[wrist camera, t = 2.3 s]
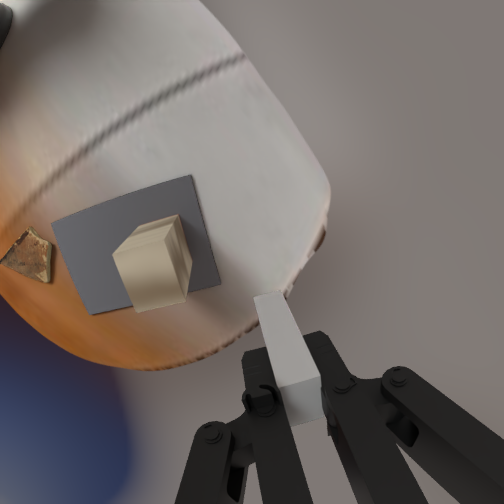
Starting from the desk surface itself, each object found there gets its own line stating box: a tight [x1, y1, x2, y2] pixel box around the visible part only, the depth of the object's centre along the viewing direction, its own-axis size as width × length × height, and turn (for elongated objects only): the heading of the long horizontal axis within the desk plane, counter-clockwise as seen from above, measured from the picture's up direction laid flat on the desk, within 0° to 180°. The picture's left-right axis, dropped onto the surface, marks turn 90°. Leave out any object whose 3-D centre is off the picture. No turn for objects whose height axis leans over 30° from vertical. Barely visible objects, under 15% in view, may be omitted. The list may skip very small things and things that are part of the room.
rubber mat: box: [51, 175, 221, 315], centre depth 32 cm, size 14×20×1 cm
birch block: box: [112, 214, 193, 313], centre depth 28 cm, size 6×5×10 cm
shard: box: [0, 227, 52, 283], centre depth 30 cm, size 11×8×2 cm
